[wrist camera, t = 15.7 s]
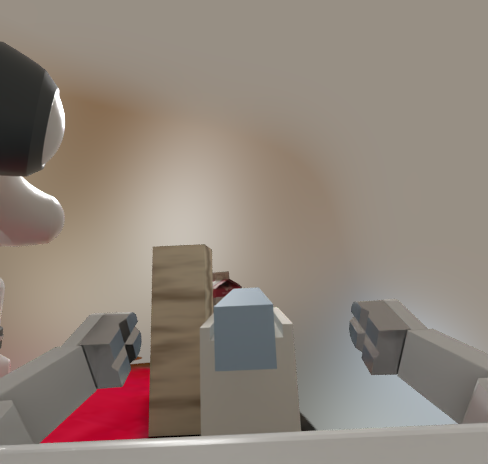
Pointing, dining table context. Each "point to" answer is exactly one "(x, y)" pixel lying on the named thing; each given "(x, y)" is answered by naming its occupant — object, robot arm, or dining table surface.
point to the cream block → (250, 389)
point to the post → (178, 337)
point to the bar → (244, 331)
